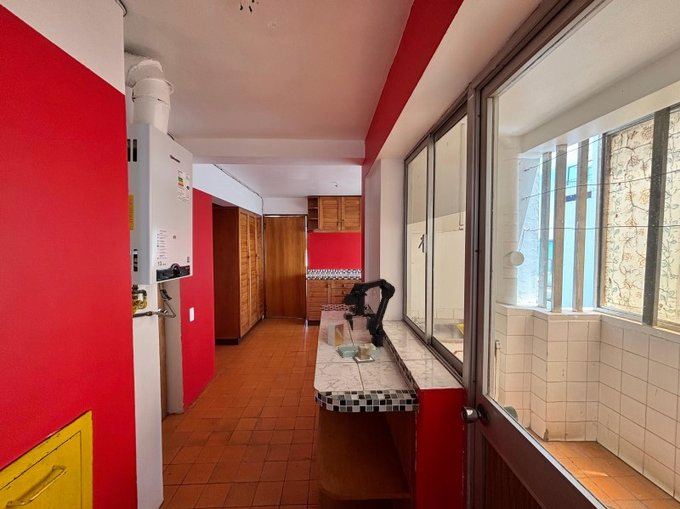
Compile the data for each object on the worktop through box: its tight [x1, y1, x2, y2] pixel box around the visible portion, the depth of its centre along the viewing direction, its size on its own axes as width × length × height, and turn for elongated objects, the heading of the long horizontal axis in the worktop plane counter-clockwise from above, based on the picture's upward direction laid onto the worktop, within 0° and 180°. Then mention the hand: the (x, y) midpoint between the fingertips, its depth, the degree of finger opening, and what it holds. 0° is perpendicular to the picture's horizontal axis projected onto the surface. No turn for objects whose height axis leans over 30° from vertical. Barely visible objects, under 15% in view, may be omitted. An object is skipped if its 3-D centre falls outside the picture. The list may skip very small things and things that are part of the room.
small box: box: [327, 321, 345, 347], centre depth 193 cm, size 8×6×13 cm
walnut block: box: [357, 345, 371, 360], centre depth 165 cm, size 5×5×6 cm
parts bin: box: [337, 344, 380, 358], centre depth 177 cm, size 22×11×2 cm, turn 106°
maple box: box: [363, 342, 377, 350], centre depth 179 cm, size 5×7×4 cm
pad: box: [352, 355, 376, 364], centre depth 165 cm, size 10×8×1 cm
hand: (359, 330), depth 180 cm, fingers open, 9 cm apart
